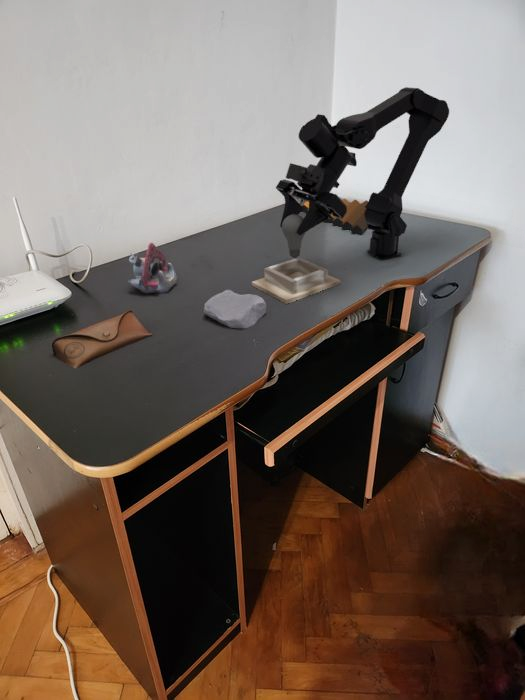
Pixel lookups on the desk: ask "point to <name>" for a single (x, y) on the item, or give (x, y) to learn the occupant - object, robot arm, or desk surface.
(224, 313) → the stone block
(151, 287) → the grey and pink figurine
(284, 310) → the desk surface
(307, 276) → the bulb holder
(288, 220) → the light bulb
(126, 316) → the sunglasses case
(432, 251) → the desk surface
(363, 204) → the pan flute
